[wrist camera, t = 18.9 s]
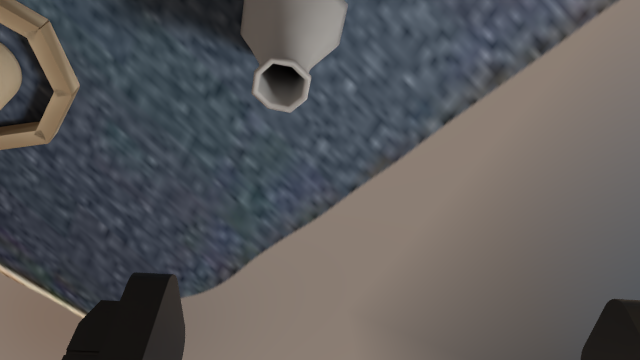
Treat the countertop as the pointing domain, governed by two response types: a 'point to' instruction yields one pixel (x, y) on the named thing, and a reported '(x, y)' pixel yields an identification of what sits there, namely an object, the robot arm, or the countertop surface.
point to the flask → (289, 45)
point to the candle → (8, 75)
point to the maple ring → (56, 68)
